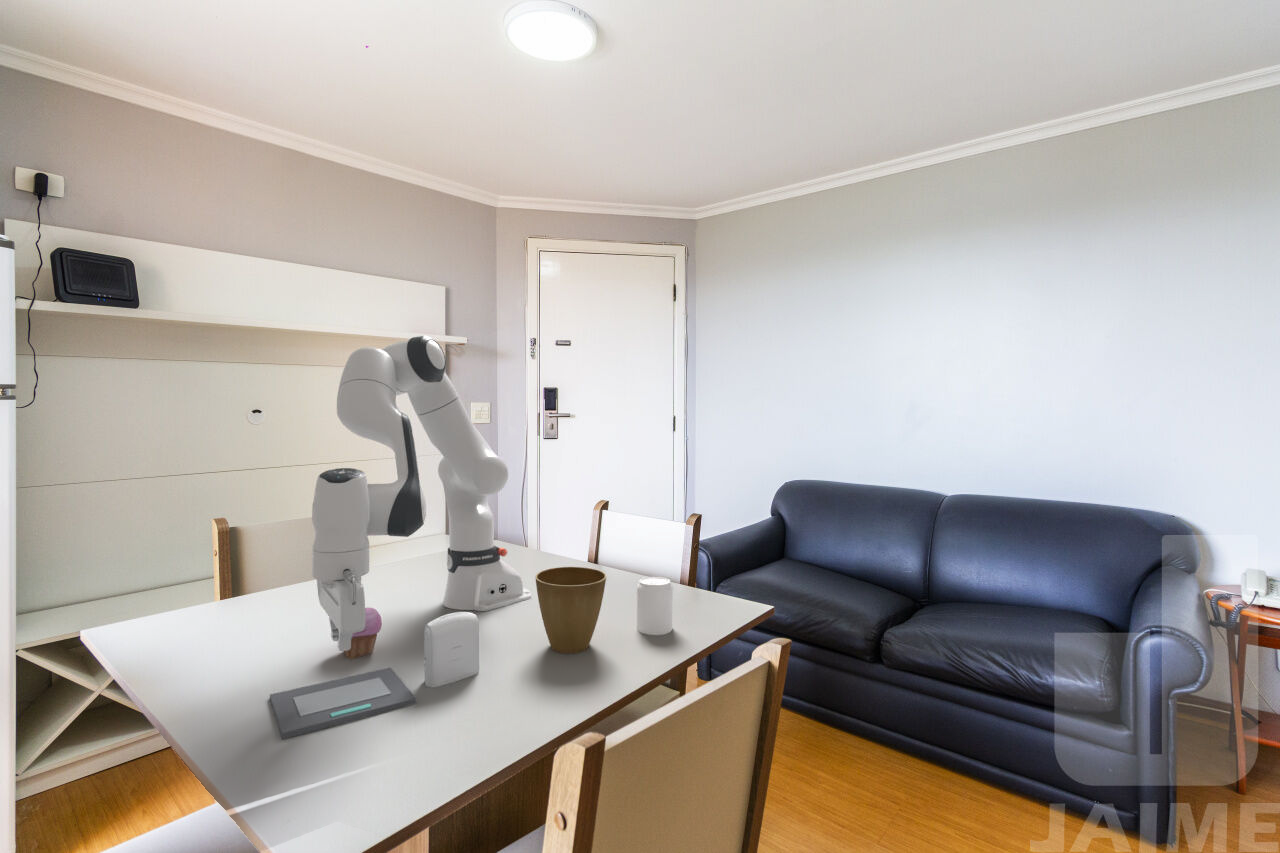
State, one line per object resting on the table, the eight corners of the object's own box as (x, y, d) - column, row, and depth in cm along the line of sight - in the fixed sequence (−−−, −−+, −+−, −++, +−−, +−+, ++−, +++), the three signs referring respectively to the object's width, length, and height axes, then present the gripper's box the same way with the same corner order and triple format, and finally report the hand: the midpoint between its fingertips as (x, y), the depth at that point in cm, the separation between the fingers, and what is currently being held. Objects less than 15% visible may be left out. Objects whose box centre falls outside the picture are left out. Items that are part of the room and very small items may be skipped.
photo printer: (430, 691, 112) (430, 622, 111) (420, 683, 115) (420, 617, 114) (482, 675, 118) (482, 611, 118) (471, 668, 122) (472, 605, 121)
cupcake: (330, 654, 128) (330, 606, 128) (374, 645, 133) (374, 598, 133) (342, 668, 121) (342, 617, 121) (387, 657, 127) (388, 609, 126)
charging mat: (390, 672, 119) (390, 666, 119) (416, 703, 107) (416, 697, 107) (269, 700, 107) (269, 693, 107) (282, 739, 95) (282, 731, 95)
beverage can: (679, 632, 143) (679, 580, 143) (655, 641, 137) (656, 587, 137) (652, 624, 148) (653, 574, 148) (629, 632, 142) (629, 580, 142)
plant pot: (521, 657, 128) (521, 579, 127) (556, 633, 141) (557, 563, 141) (586, 668, 122) (587, 587, 122) (616, 643, 136) (617, 570, 136)
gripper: (376, 574, 100) (375, 659, 100) (348, 551, 117) (348, 624, 117) (333, 580, 96) (332, 668, 97) (310, 555, 113) (310, 631, 113)
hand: (340, 644), depth 107 cm, fingers open, 4 cm apart
